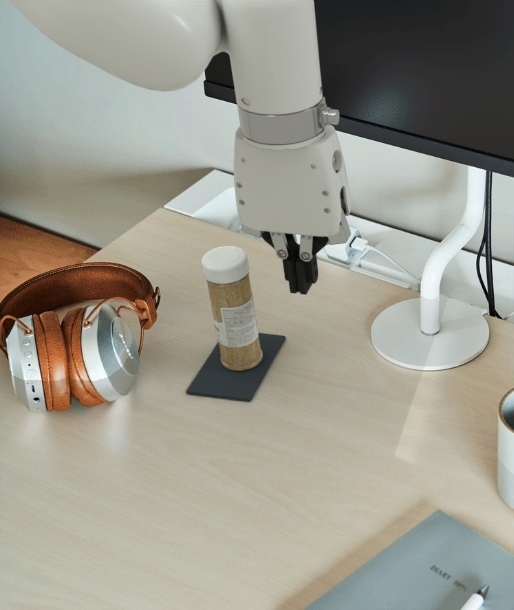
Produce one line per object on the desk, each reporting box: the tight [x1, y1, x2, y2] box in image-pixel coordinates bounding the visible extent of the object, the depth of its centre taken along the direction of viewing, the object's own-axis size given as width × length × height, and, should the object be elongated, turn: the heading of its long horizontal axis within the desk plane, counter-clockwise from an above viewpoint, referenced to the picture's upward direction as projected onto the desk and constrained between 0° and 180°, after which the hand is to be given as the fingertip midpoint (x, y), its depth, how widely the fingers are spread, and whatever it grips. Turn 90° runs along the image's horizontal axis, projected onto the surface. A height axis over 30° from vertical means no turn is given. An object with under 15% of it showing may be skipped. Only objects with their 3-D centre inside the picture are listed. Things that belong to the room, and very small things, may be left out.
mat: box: [185, 332, 286, 403], centre depth 100 cm, size 7×11×1 cm, turn 170°
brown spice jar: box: [200, 245, 263, 371], centre depth 97 cm, size 5×5×14 cm
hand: (302, 286), depth 93 cm, fingers closed
